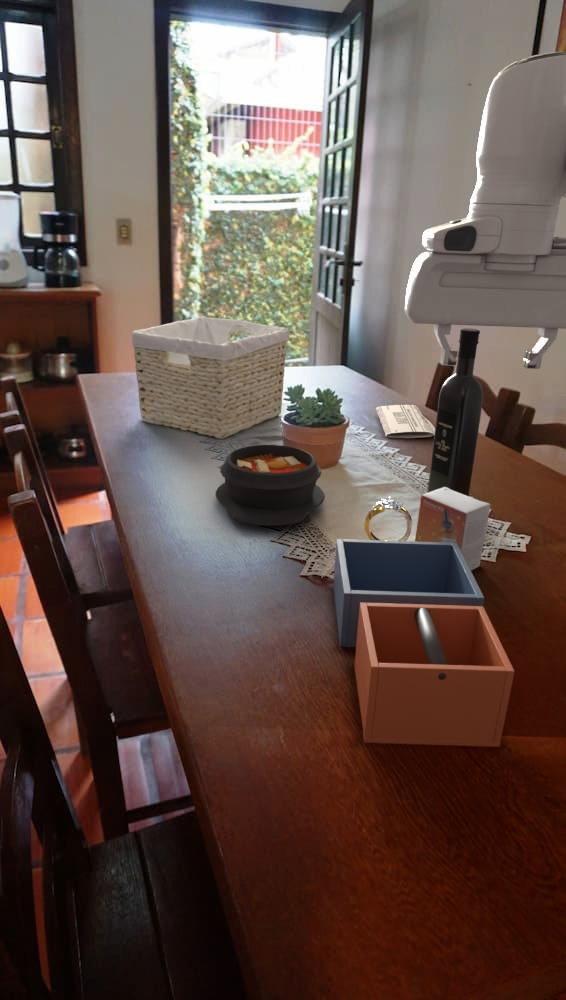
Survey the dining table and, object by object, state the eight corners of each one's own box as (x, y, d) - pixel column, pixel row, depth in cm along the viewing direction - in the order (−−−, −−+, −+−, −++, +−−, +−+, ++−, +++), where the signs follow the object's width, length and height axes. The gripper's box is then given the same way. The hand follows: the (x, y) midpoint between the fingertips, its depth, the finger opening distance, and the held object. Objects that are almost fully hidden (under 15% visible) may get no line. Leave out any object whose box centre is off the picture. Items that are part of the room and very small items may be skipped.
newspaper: (441, 440, 153) (441, 429, 152) (386, 443, 153) (386, 433, 152) (424, 411, 174) (424, 402, 172) (375, 414, 174) (375, 405, 173)
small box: (411, 560, 100) (419, 494, 96) (435, 549, 103) (444, 485, 99) (456, 582, 94) (466, 513, 90) (480, 570, 98) (491, 503, 94)
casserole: (325, 539, 105) (328, 488, 102) (205, 533, 106) (204, 483, 102) (323, 479, 128) (325, 437, 125) (224, 475, 129) (224, 433, 125)
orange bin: (471, 675, 75) (483, 605, 72) (499, 749, 65) (515, 672, 62) (353, 671, 75) (359, 601, 72) (363, 745, 65) (371, 667, 62)
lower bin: (449, 594, 91) (457, 542, 88) (474, 656, 79) (484, 597, 76) (332, 590, 91) (336, 538, 88) (339, 651, 79) (344, 593, 76)
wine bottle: (446, 512, 116) (471, 333, 104) (423, 500, 121) (444, 328, 109) (470, 505, 119) (496, 331, 107) (446, 494, 124) (469, 325, 112)
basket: (224, 445, 145) (224, 341, 136) (130, 422, 158) (124, 326, 149) (290, 416, 166) (293, 325, 158) (202, 398, 179) (201, 313, 170)
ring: (410, 547, 104) (416, 498, 101) (407, 556, 101) (413, 506, 98) (365, 539, 106) (369, 492, 103) (361, 548, 103) (365, 499, 100)
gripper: (595, 237, 75) (570, 363, 80) (409, 231, 75) (396, 357, 80) (621, 240, 69) (592, 375, 74) (419, 233, 69) (405, 369, 74)
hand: (489, 366), depth 77 cm, fingers open, 8 cm apart
